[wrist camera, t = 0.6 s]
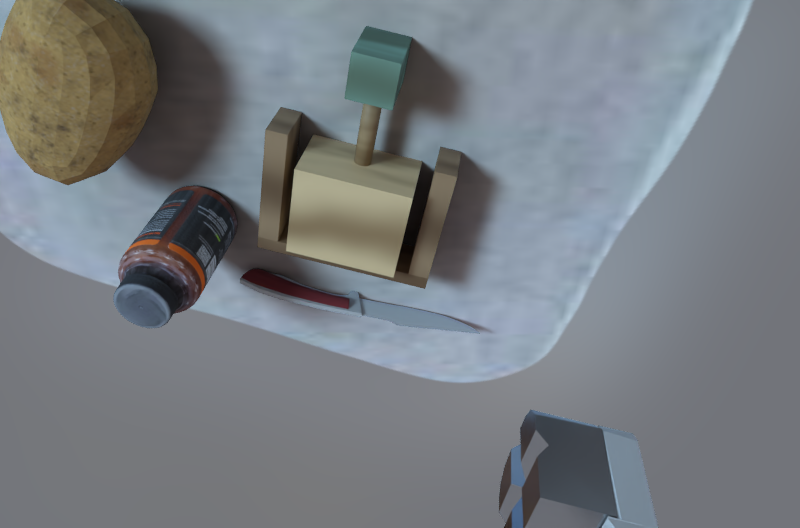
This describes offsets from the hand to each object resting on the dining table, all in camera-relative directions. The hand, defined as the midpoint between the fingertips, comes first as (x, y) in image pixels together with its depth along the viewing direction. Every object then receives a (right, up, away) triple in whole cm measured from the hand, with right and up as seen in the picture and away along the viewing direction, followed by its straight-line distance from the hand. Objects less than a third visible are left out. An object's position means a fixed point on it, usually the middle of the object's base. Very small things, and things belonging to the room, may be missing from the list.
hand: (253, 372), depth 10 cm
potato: (-18, +16, +37) cm, 44 cm away
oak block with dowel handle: (0, +10, +37) cm, 38 cm away
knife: (-1, -1, +46) cm, 46 cm away
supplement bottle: (-14, +6, +43) cm, 46 cm away
